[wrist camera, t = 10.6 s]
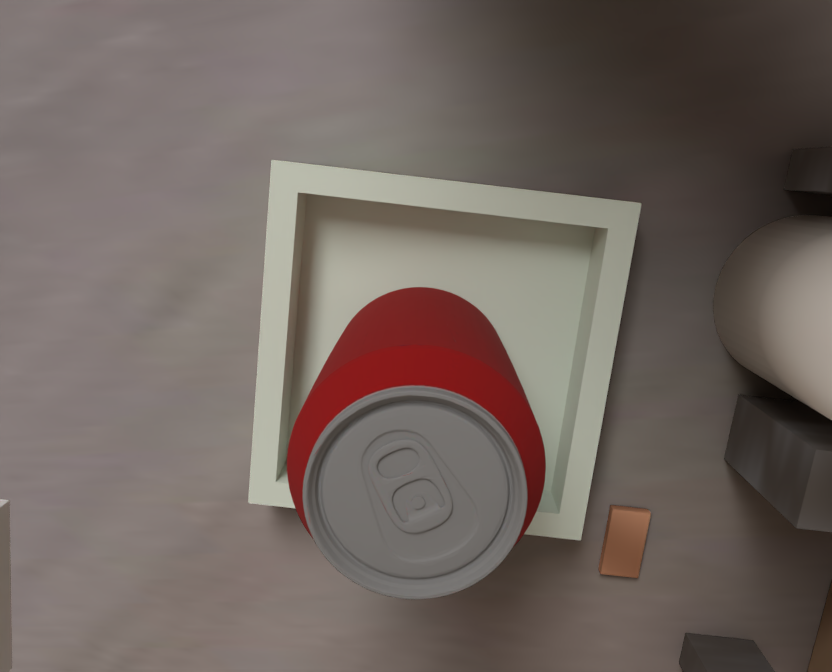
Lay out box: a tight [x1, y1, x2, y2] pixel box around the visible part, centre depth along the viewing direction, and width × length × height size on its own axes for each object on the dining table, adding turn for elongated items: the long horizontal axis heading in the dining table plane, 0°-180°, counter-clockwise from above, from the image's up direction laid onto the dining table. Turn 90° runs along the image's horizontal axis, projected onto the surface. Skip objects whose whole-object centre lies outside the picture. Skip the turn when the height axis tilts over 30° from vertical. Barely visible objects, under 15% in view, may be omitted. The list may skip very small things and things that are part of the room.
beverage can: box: [287, 287, 546, 599], centre depth 23 cm, size 7×7×12 cm
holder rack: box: [599, 147, 832, 672], centre depth 27 cm, size 23×12×6 cm, turn 174°
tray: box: [248, 160, 642, 541], centre depth 28 cm, size 13×13×2 cm
